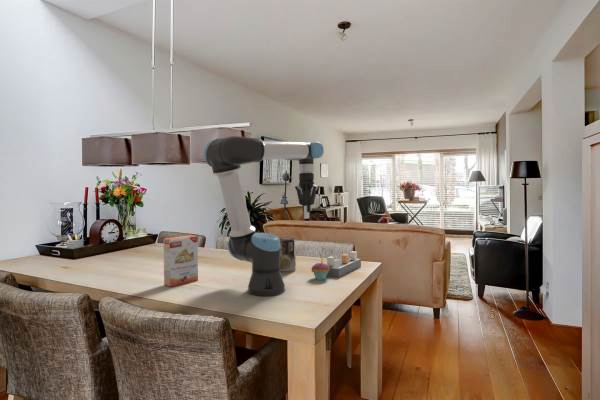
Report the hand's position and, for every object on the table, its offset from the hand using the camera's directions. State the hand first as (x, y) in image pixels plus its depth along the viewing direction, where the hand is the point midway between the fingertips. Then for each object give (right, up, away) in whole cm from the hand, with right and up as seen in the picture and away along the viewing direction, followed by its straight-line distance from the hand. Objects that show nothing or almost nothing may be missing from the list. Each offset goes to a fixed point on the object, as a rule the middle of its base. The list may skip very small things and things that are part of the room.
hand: (306, 218), depth 180 cm
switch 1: (+12, -23, -9) cm, 27 cm away
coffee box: (-10, -27, 0) cm, 29 cm away
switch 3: (+25, -22, +4) cm, 33 cm away
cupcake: (+6, -27, -17) cm, 33 cm away
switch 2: (+20, -22, -3) cm, 30 cm away
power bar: (+18, -26, -2) cm, 32 cm away
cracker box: (-57, -28, -22) cm, 67 cm away
